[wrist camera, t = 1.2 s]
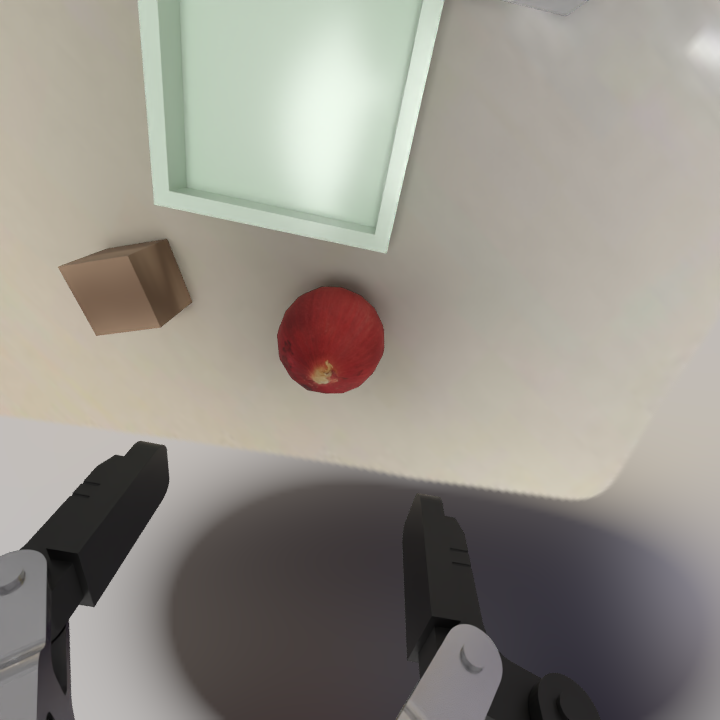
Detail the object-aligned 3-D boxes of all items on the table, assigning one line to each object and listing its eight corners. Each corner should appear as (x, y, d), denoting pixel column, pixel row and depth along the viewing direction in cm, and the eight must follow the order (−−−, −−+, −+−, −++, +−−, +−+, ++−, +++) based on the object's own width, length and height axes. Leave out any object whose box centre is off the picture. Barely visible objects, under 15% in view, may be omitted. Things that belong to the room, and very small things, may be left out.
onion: (342, 369, 26) (326, 450, 19) (275, 315, 24) (231, 383, 17) (402, 313, 24) (409, 383, 17) (334, 249, 22) (309, 297, 15)
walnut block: (107, 248, 23) (57, 266, 19) (167, 238, 22) (127, 255, 19) (136, 309, 25) (96, 335, 21) (192, 301, 24) (160, 327, 21)
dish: (162, -119, 15) (124, -162, 13) (451, -47, 16) (461, -77, 13) (178, 198, 21) (154, 204, 19) (386, 242, 22) (386, 253, 19)
